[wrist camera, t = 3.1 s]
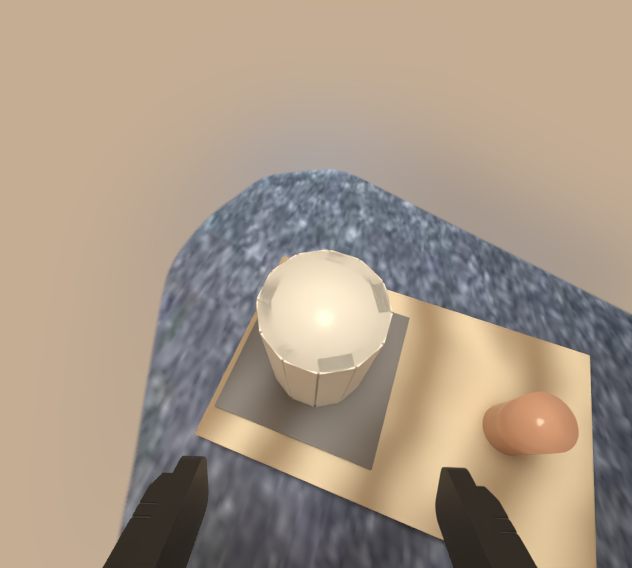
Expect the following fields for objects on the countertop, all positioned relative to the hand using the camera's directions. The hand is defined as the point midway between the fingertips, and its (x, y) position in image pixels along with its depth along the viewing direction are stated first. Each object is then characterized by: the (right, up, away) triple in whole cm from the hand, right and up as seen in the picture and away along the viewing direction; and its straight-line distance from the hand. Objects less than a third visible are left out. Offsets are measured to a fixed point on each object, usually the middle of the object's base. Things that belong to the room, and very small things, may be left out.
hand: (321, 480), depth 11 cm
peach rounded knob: (+13, -3, +11) cm, 17 cm away
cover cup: (0, +1, +13) cm, 13 cm away
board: (+6, -2, +14) cm, 15 cm away
